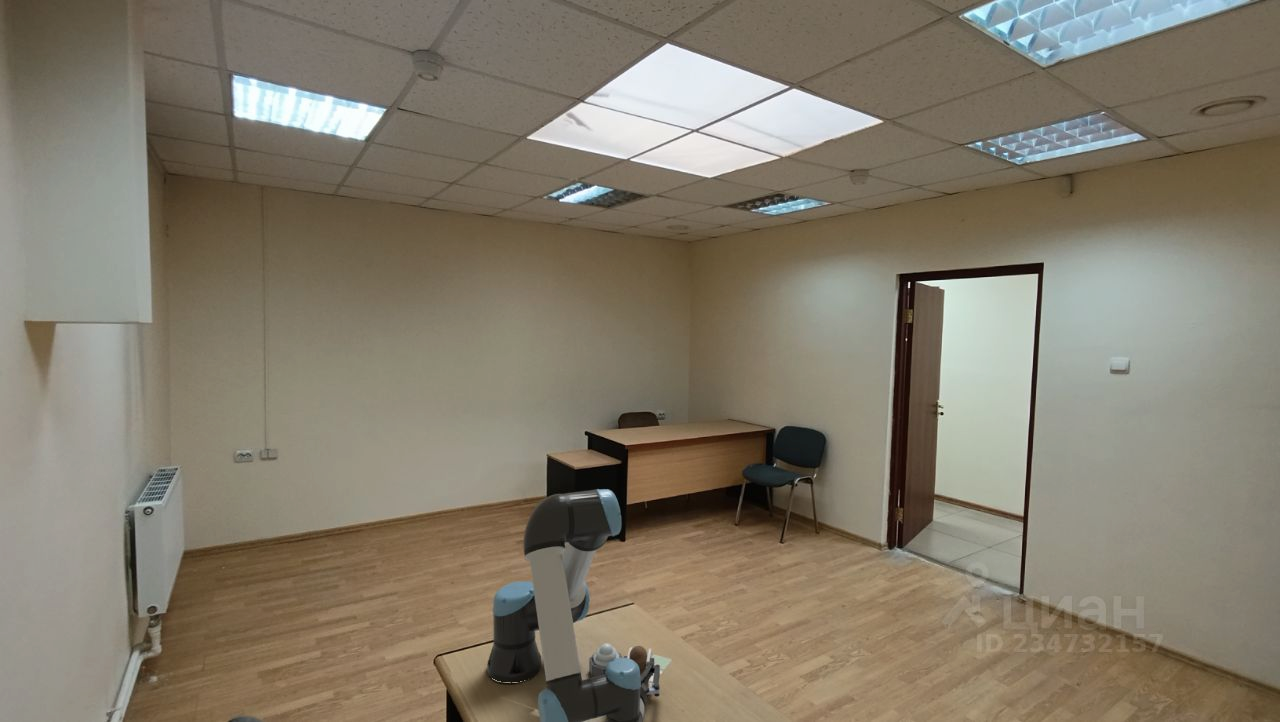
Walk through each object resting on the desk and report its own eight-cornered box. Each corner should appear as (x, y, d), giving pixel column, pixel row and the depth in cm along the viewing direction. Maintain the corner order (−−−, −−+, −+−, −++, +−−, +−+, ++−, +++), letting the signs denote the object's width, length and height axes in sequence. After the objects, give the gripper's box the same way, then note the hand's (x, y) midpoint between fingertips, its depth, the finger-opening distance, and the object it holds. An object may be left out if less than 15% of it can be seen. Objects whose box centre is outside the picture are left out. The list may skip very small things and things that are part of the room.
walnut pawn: (624, 688, 152) (624, 649, 152) (633, 677, 157) (634, 639, 157) (642, 695, 150) (643, 654, 149) (652, 683, 155) (652, 644, 154)
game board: (617, 692, 152) (617, 688, 152) (649, 655, 170) (649, 652, 170) (647, 702, 148) (647, 698, 148) (677, 663, 166) (677, 660, 166)
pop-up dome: (588, 666, 159) (588, 647, 158) (601, 654, 165) (601, 635, 165) (611, 673, 155) (611, 653, 155) (623, 660, 162) (623, 641, 162)
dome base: (584, 679, 158) (584, 663, 158) (600, 662, 166) (600, 647, 166) (612, 688, 154) (612, 671, 154) (628, 671, 162) (628, 655, 162)
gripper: (592, 718, 137) (609, 663, 160) (666, 724, 135) (672, 668, 158) (592, 687, 136) (609, 637, 160) (666, 693, 134) (672, 641, 157)
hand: (640, 652), depth 159 cm, fingers closed on walnut pawn, 5 cm apart
